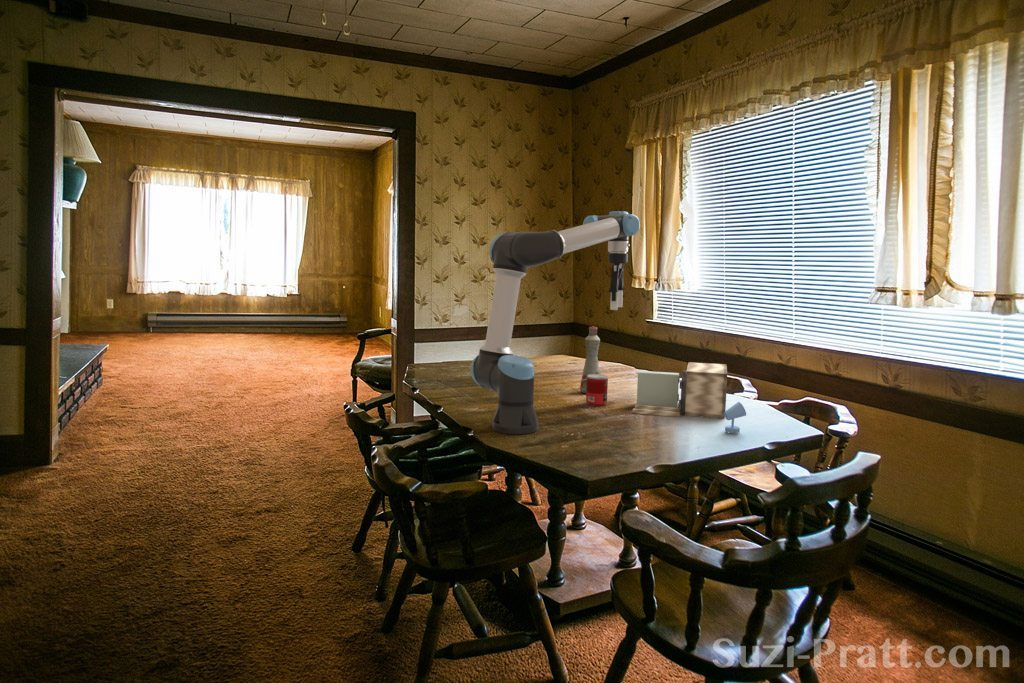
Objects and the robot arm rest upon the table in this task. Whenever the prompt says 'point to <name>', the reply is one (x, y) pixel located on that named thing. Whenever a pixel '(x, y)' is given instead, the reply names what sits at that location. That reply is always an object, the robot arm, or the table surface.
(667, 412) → the cabinet
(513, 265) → the robot arm
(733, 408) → the spotlight
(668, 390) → the door
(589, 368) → the bottle
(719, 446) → the table surface
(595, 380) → the canned food
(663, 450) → the table surface
